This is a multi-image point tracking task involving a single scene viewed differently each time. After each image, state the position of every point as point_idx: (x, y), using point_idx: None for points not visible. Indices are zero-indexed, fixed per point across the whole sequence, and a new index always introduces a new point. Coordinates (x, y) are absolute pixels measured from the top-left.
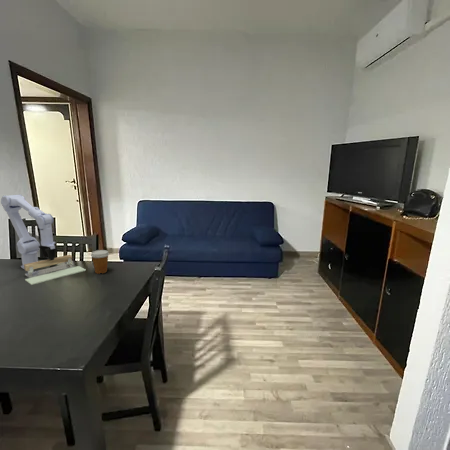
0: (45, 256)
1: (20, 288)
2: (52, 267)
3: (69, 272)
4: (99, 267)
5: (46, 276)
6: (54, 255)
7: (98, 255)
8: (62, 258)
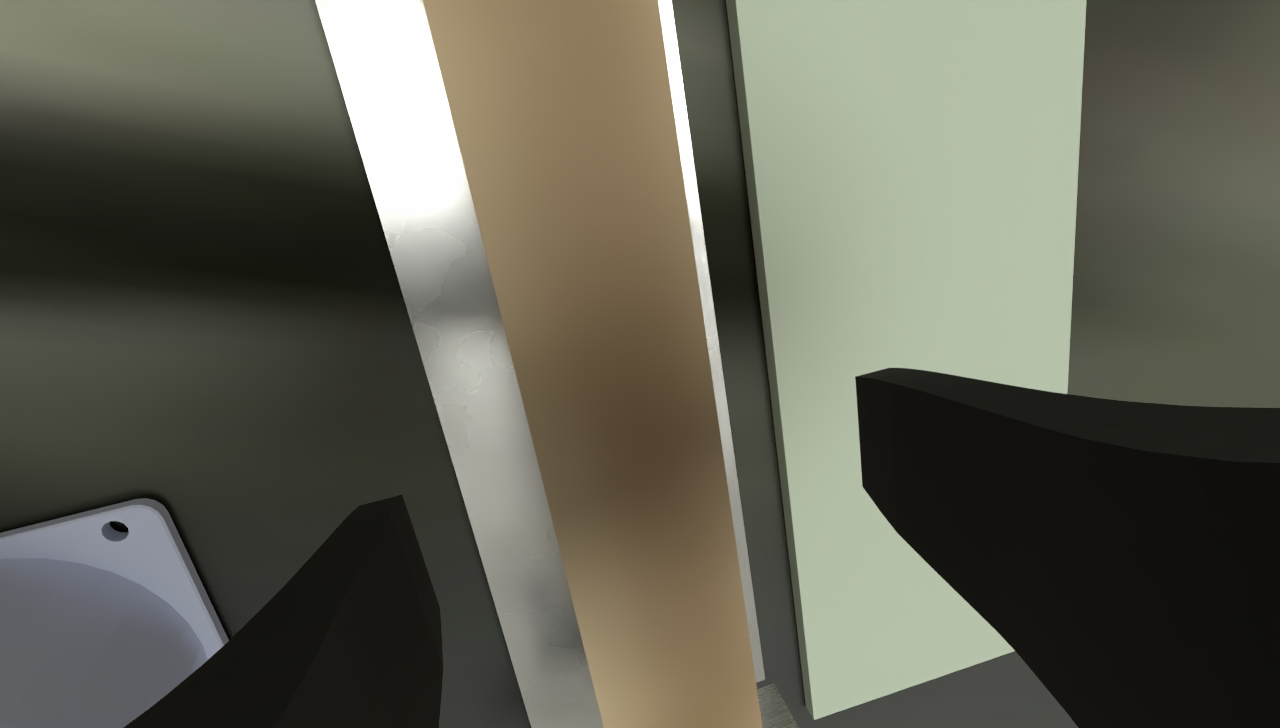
0: (430, 610)
1: (1049, 724)
2: (431, 289)
3: (1004, 20)
4: None
5: None
6: (1044, 400)
7: None
8: (650, 16)
